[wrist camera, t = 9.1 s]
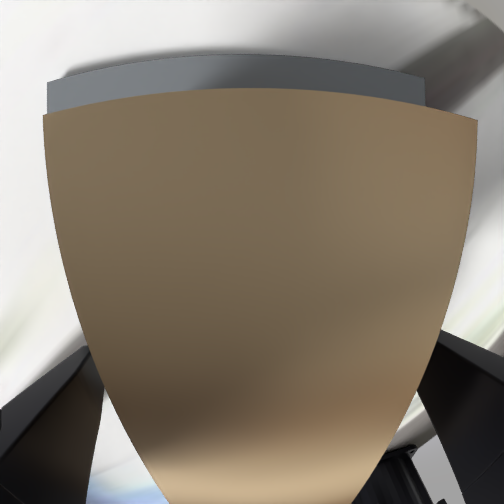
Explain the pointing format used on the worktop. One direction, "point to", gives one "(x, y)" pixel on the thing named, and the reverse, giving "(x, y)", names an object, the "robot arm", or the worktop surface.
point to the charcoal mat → (232, 78)
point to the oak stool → (260, 277)
